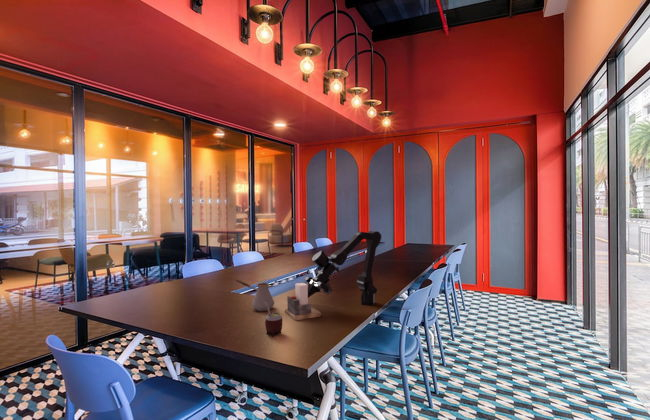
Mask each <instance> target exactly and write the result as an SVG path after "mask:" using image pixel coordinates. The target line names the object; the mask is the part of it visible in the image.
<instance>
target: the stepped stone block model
mask: <svg viewBox="0 0 650 420" xmlns="http://www.w3.org/2000/svg"><path fill="white" fill-rule="evenodd" d="M286 301H287V309H284V313H285V314H286V315H288V316H289V317H290V318H291V319H292V320H293V321H299V320H306V319H314V318H318V317H322V312H320V311H318V310H317V309H316V308H314V307H312V304H311V303H310V304H309V303H308V304H307V305H300V306H299V300H298V299H297V298H296V296H295V295H288V296H287V300H286Z"/></svg>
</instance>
